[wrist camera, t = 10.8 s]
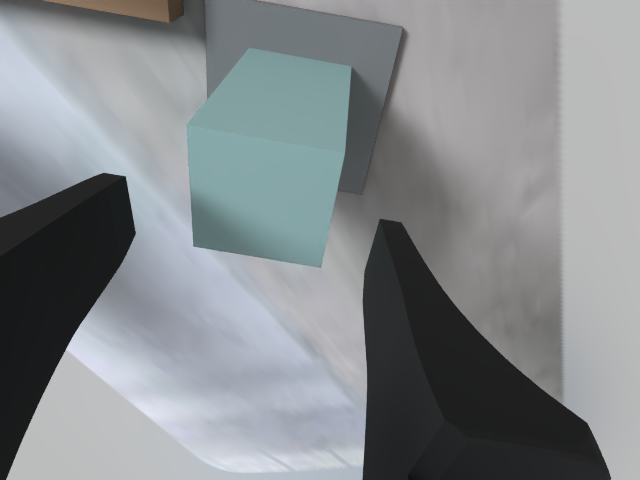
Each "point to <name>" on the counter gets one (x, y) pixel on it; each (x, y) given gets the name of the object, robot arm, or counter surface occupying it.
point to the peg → (269, 157)
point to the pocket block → (133, 7)
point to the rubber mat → (313, 43)
